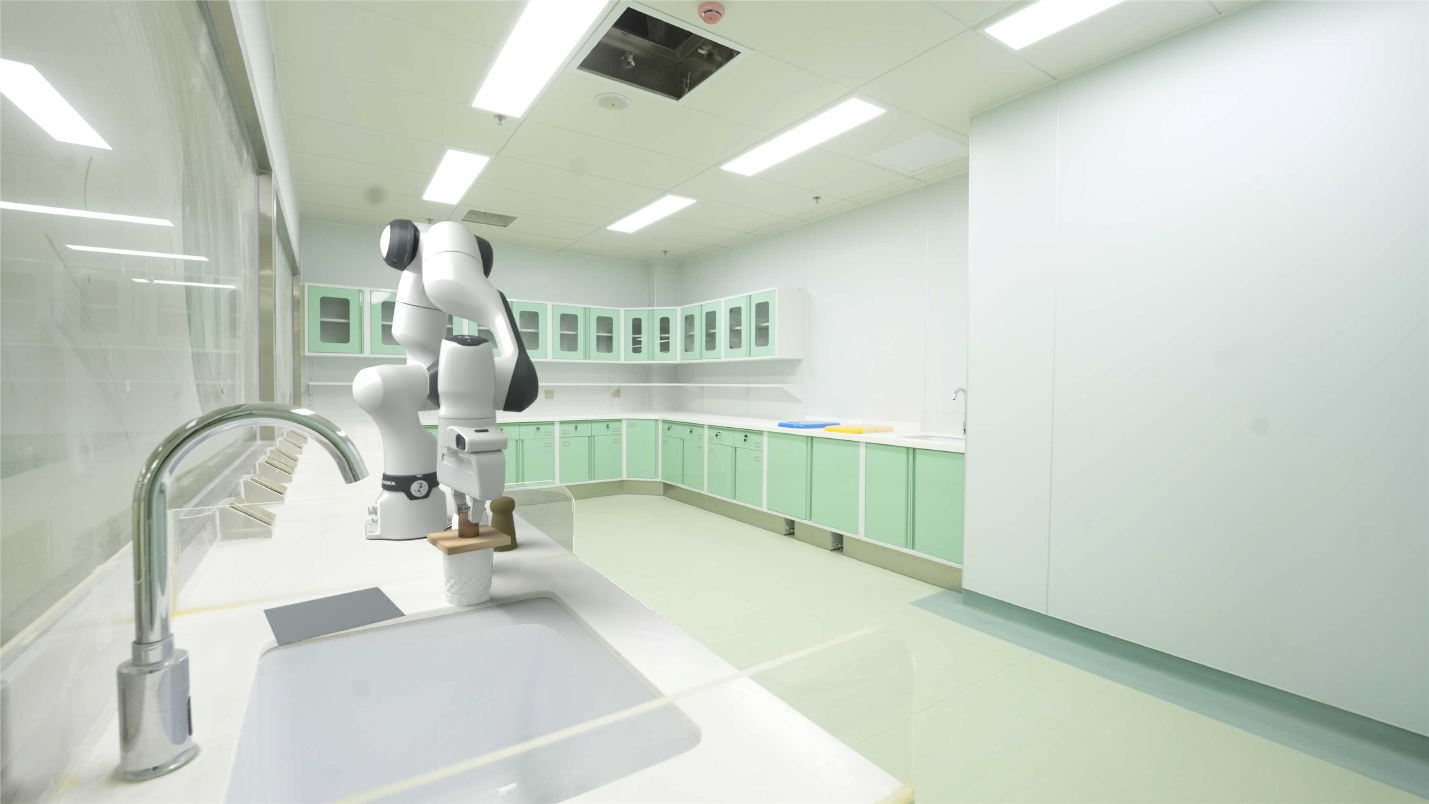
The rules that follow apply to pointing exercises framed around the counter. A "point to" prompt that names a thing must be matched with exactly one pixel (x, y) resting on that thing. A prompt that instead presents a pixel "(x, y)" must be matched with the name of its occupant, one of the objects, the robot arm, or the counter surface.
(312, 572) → the counter surface
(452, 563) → the white cup
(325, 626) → the mat
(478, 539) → the lid
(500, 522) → the olive pepper grinder
